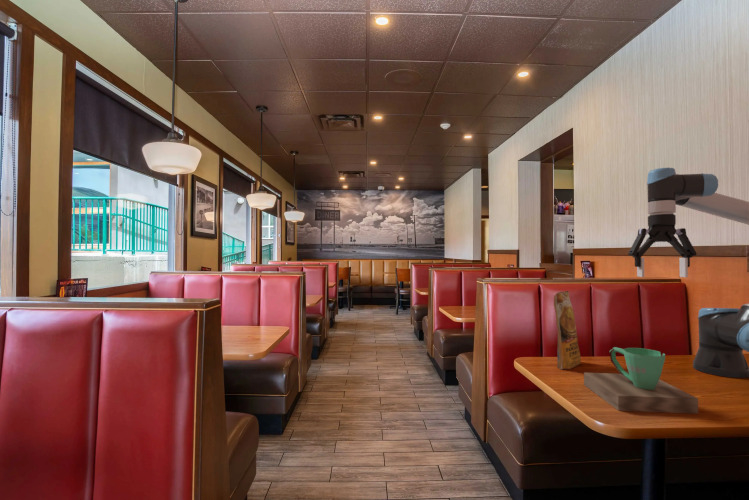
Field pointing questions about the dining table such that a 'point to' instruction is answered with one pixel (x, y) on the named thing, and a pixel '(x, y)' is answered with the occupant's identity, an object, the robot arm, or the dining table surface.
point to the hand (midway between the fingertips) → (662, 277)
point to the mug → (640, 366)
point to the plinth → (640, 395)
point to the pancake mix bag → (566, 332)
